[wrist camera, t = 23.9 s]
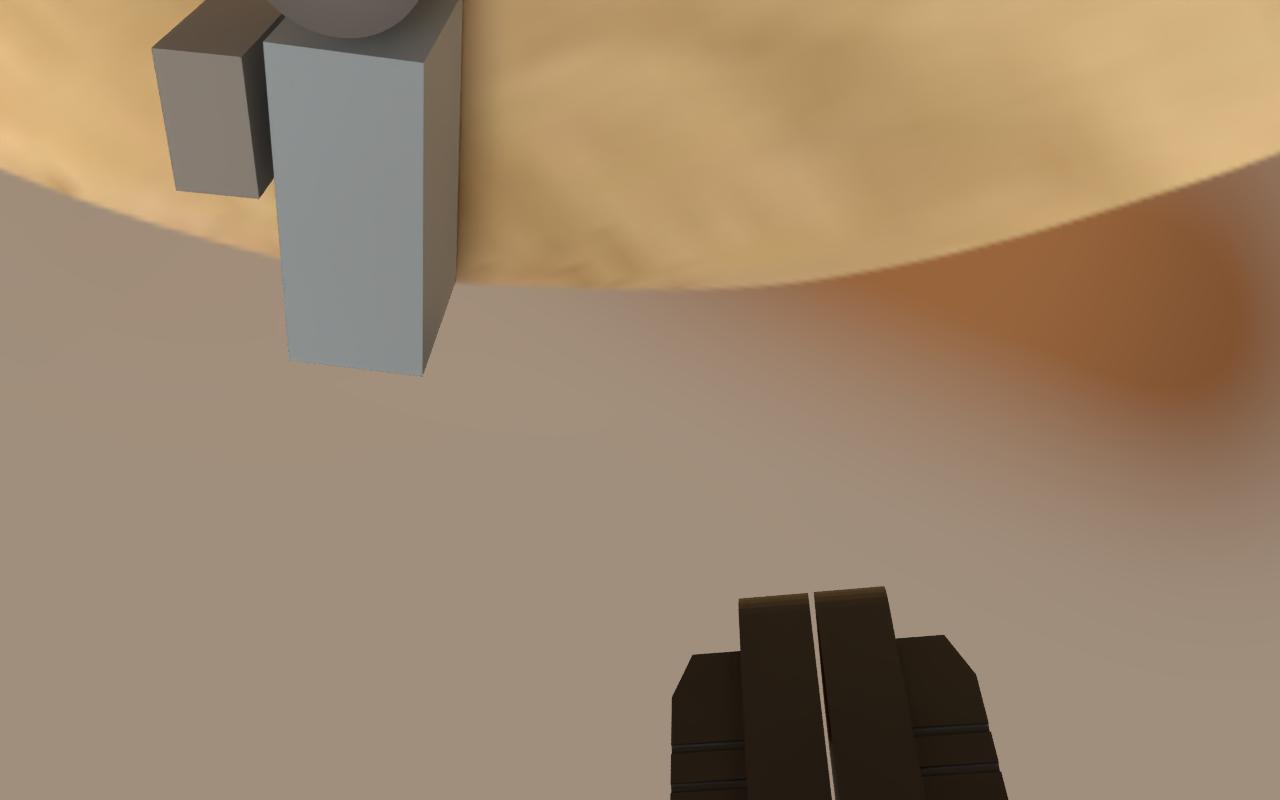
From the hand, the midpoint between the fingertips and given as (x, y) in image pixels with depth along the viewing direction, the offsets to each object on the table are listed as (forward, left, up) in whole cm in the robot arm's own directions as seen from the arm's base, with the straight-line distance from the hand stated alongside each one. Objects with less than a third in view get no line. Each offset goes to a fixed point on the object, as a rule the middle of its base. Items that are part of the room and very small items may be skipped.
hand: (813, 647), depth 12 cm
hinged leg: (-9, -2, -21) cm, 23 cm away
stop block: (-12, -3, -21) cm, 25 cm away
